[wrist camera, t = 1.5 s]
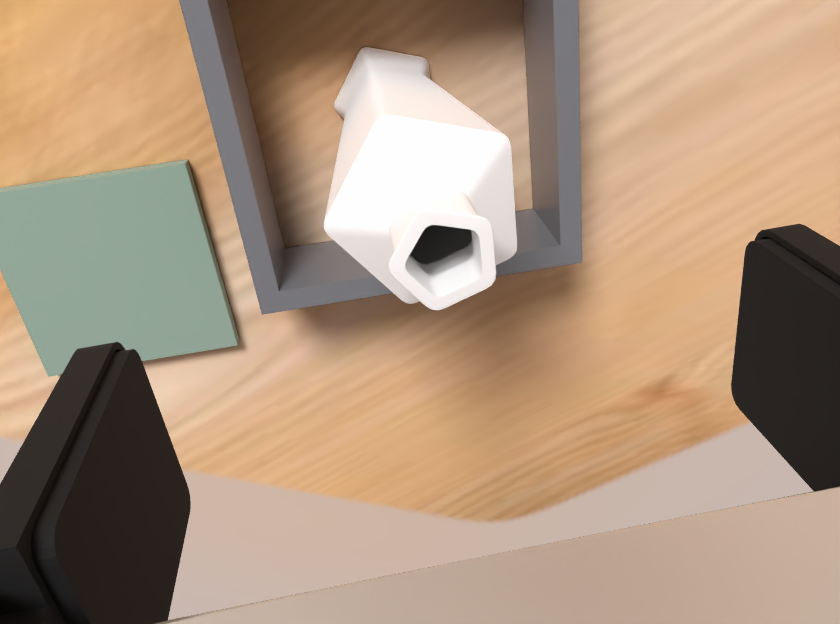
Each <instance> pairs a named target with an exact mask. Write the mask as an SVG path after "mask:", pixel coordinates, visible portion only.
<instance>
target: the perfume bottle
mask: <svg viewBox="0 0 840 624" xmlns="http://www.w3.org/2000/svg"><path fill="white" fill-rule="evenodd" d="M334 108H335V110H336V111H337V113H338V114H339V115H340V116H341V117H342V118H343V119H344V123H343V128H342V134H341V139H340V144H339V149H338V154H337V159H336V164H335V169H334V174H333V179H332V185H331V190H330V195H329V200H328V205H327V210H326V215H325V220H324V229H325V232H326V233H327V234H328V235H329V236H330V237H331V238H332V239H333V240H334V241H335V242H336V243H338V244H339V245H340V246H341V247H342V248H343V249H344V250H345V251H347V252H348V253H349V254H350V255H351V256H352V257H353V258H354V259H356V260H357V261H358V262H359V263H360V264H361V265H362V266H363V267H365V268H366V269H367V270H368V271H369V272H370V273H371V274H372V275H374V276H375V277H376V278H377V279H378V280H379V281H380V282H381V283H383V284H384V285H385V286H386V287H387V288H388V289H389V290H390V291H392V292H393V293H394V294H395V295H396V296H397V297H398V298H399V299H401V300H402V301H404V302H405V303H409V304H413V303H417V302H419V301H420V302H421V303H422V304H423V305H425V306H426V307H428V308H429V309H431V310H441V309H444V308H447V307H449V306H451V305H453V304H455V303H457V302H459V301H461V300H464V299H466V298H468V297H470V296H472V295H474V294H476V293H478V292H481V291H483V290H485V289H487V288H488V287H490V286H491V285H492V284H493V282H494V281H495V279H496V265H498V264H500V263H502V262H504V261H506V260H508V259H510V258H511V257H512V256H514V254H515V252H516V251H517V234H516V218H515V202H514V187H513V171H512V155H511V145H510V141H509V139H508V138H507V137H506V135H504V134H503V133H502V132H500V131H499V130H498V129H496V128H495V127H494V126H492V125H491V124H489V123H488V122H487V121H485V120H484V119H483V118H481V117H480V116H479V115H477V114H476V113H475V112H473V111H472V110H471V109H469V108H468V107H467V106H465V105H464V104H463V103H461V102H460V101H458V100H457V99H456V98H454V97H453V96H452V95H450V94H449V93H448V92H446V91H445V90H444V89H442V88H441V87H440V86H438V85H437V84H436V83H434V82H433V81H432V80H431V79H430V70H429V64H428V61H427V60H426V59H425V58H423V57H419V56H414V55H409V54H403V53H398V52H392V51H387V50H382V49H376V48H371V47H364V48H362V49H361V50H360V51H359V53H358V55H357V57H356V59H355V61H354V63H353V65H352V67H351V69H350V71H349V73H348V75H347V78H346V80H345V82H344V84H343V86H342V88H341V90H340V92H339V94H338V96H337V98H336V100H335V103H334Z"/></svg>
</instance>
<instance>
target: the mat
mask: <svg viewBox="0 0 840 624" xmlns="http://www.w3.org/2000/svg"><path fill="white" fill-rule="evenodd" d="M0 270H1V272H2V275H3V277H4V279H5V281H6V283H7V286H8V288H9V290H10V292H11V295H12V297H13V299H14V301H15V303H16V306H17V308H18V310H19V312H20V315H21V317H22V319H23V321H24V323H25V326H26V328H27V330H28V332H29V335H30V337H31V339H32V341H33V343H34V346H35V348H36V350H37V352H38V354H39V357H40V359H41V361H42V363H43V366H44V368H45V370H46V372H47V374H48V377H49V376H55V375H61V374H62V373H63V371H64V370H65V368H66V366H67V364H68V363H69V361H70V359H71V357H72V355H73V354H74V352H75V351H76V350H77V349H79V348H85V347H91V346H97V345H102V344H108V343H114V342H119V343H121V344H122V346H123V347H124V348H125V350H130V349H135V350H136V351H137V352H138V354H139V356H140V358H141V361H146V360H152V359H158V358H164V357H170V356H176V355H183V354H189V353H195V352H201V351H207V350H213V349H219V348H225V347H231V346H237V345H238V341H239V336H238V333H237V329H236V326H235V322H234V319H233V315H232V312H231V308H230V305H229V302H228V298H227V295H226V291H225V288H224V284H223V281H222V277H221V274H220V270H219V267H218V263H217V260H216V256H215V253H214V249H213V246H212V242H211V239H210V235H209V232H208V228H207V225H206V221H205V218H204V214H203V211H202V207H201V204H200V200H199V197H198V193H197V190H196V186H195V183H194V179H193V176H192V172H191V169H190V165H189V162H188V159H187V160H181V161H174V162H167V163H161V164H154V165H148V166H141V167H135V168H128V169H122V170H115V171H109V172H102V173H96V174H89V175H83V176H76V177H70V178H63V179H57V180H50V181H44V182H37V183H30V184H24V185H17V186H11V187H4V188H0Z"/></svg>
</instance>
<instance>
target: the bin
mask: <svg viewBox="0 0 840 624" xmlns="http://www.w3.org/2000/svg"><path fill="white" fill-rule="evenodd" d="M179 1H180V5H181V9H182V13H183V16H184V20H185V24H186V28H187V32H188V35H189V39H190V43H191V47H192V51H193V54H194V58H195V62H196V66H197V70H198V73H199V77H200V81H201V85H202V89H203V92H204V96H205V100H206V104H207V108H208V111H209V115H210V119H211V123H212V127H213V130H214V134H215V138H216V142H217V145H218V149H219V153H220V157H221V161H222V164H223V168H224V172H225V176H226V180H227V183H228V187H229V191H230V195H231V199H232V202H233V206H234V210H235V214H236V218H237V221H238V225H239V229H240V233H241V237H242V240H243V244H244V248H245V252H246V256H247V259H248V263H249V267H250V271H251V275H252V278H253V282H254V286H255V290H256V294H257V297H258V301H259V305H260V309H261V313H262V314H269V313H275V312H281V311H287V310H293V309H299V308H305V307H311V306H318V305H324V304H330V303H336V302H342V301H348V300H354V299H360V298H367V297H373V296H379V295H385V294H391V293H393V292H392V291H390V290H389V289H388V288H387V287H386V286H385V285H384V284H383V283H381V282H380V281H379V280H378V279H377V278H376V277H375V276H374V275H372V274H371V273H370V272H369V271H368V270H367V269H366V268H365V267H363V266H362V265H361V264H360V263H359V262H358V261H357V260H356V259H354V258H353V257H352V256H351V255H350V254H349V253H348V252H347V251H345V250H344V249H343V248H342V247H341V246H340V245H339V244H338V243H336V242H335V241H328V242H321V243H315V244H309V245H302V246H296V247H290V248H284V244H283V240H282V235H281V231H280V227H279V222H278V218H277V214H276V210H275V205H274V201H273V197H272V192H271V188H270V184H269V180H268V175H267V171H266V167H265V163H264V158H263V154H262V150H261V145H260V141H259V137H258V133H257V128H256V124H255V120H254V116H253V111H252V107H251V103H250V98H249V94H248V90H247V86H246V81H245V77H244V73H243V68H242V64H241V60H240V56H239V51H238V47H237V43H236V39H235V34H234V30H233V26H232V21H231V17H230V13H229V9H228V4H227V0H179ZM523 15H524V36H525V56H526V76H527V97H528V117H529V137H530V158H531V178H532V198H533V209H528V210H522V211H516V212H515V218H516V234H517V251H516V252H515V254H514V256H512V257H511V258H510V259H508V260H506V261H504V262H502V263H500V264H498V265H496V276H501V275H508V274H514V273H520V272H526V271H532V270H538V269H544V268H550V267H557V266H563V265H569V264H575V263H581V262H582V219H581V150H580V81H579V13H578V0H523Z"/></svg>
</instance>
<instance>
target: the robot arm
mask: <svg viewBox="0 0 840 624" xmlns="http://www.w3.org/2000/svg"><path fill="white" fill-rule="evenodd" d="M731 389H732V395H733V398H734V401H735V403H736V405H737V406H738V408H739V409H740V410H741V411H742V412H743V414H744V415H745V416H746V417H747V418H748V419H749V420H750V421H751V422H752V423H753V425H754V426H755V427H756V428H757V429H758V430H759V431H760V432H761V433H762V435H763V436H764V437H765V438H766V439H767V440H768V441H769V442H770V443H771V444H772V445H773V447H774V448H775V449H776V450H777V451H778V452H779V453H780V454H781V455H782V457H783V458H784V459H785V460H786V461H787V462H788V463H789V464H790V465H791V467H793V469H794V470H795V471H796V472H797V473H798V474H799V475H800V477H801V478H802V479H803V480H804V481H805V482H806V483H807V484H808V485H809V486H810V488H811V489H812V490H813V491H814V492H809V493H804V494H798V495H793V496H788V497H783V498H778V499H773V500H767V501H763V502H757V503H752V504H747V505H742V506H737V507H732V508H727V509H721V510H716V511H711V512H706V513H700V514H695V515H691V516H685V517H680V518H675V519H670V520H665V521H659V522H655V523H649V524H644V525H639V526H634V527H629V528H624V529H619V530H614V531H609V532H604V533H599V534H593V535H588V536H583V537H578V538H573V539H568V540H563V541H558V542H553V543H548V544H543V545H539V546H533V547H528V548H524V549H518V550H513V551H508V552H503V553H498V554H493V555H488V556H483V557H478V558H473V559H468V560H463V561H458V562H453V563H448V564H443V565H438V566H433V567H428V568H423V569H418V570H413V571H408V572H403V573H398V574H394V575H389V576H383V577H378V578H374V579H369V580H364V581H360V582H354V583H350V584H344V585H340V586H335V587H330V588H325V589H320V590H315V591H310V592H305V593H300V594H295V595H291V596H285V597H280V598H276V599H271V600H266V601H261V602H256V603H251V604H246V605H241V606H236V607H231V608H226V609H221V610H216V611H211V612H207V613H202V614H197V615H192V616H187V617H182V618H177V619H172V620H168V616H169V611H170V606H171V601H172V597H173V592H174V586H175V582H176V577H177V572H178V568H179V563H180V557H181V553H182V548H183V543H184V538H185V534H186V528H187V524H188V518H189V514H190V494H189V489H188V486H187V483H186V480H185V477H184V475H183V472H182V469H181V467H180V464H179V461H178V458H177V456H176V453H175V450H174V448H173V445H172V442H171V439H170V437H169V434H168V431H167V429H166V426H165V423H164V420H163V418H162V415H161V412H160V410H159V407H158V404H157V401H156V399H155V396H154V393H153V390H152V388H151V385H150V382H149V380H148V377H147V374H146V371H145V369H144V366H143V363H142V361H141V358H140V356H139V354H138V352H137V351H136V350H135V349H130V350H125V348H124V347H123V346H122V344H121V343H119V342H114V343H108V344H102V345H97V346H91V347H85V348H79V349H77V350H76V351H75V352H74V354H73V355H72V357H71V359H70V361H69V363H68V364H67V366H66V368H65V370H64V371H63V373H62V375H61V377H60V379H59V380H58V382H57V384H56V386H55V387H54V389H53V391H52V393H51V395H50V396H49V398H48V400H47V402H46V404H45V405H44V407H43V409H42V411H41V412H40V414H39V416H38V418H37V420H36V421H35V423H34V425H33V427H32V428H31V430H30V432H29V434H28V436H27V437H26V439H25V441H24V443H23V445H22V446H21V448H20V450H19V452H18V453H17V455H16V457H15V459H14V461H13V462H12V464H11V466H10V468H9V470H8V471H7V473H6V475H5V477H4V478H3V480H2V482H1V484H0V624H840V246H839V245H837V244H835V243H834V242H832V241H830V240H828V239H827V238H825V237H823V236H822V235H820V234H818V233H817V232H815V231H813V230H811V229H810V228H808V227H806V226H805V225H802V224H795V225H790V226H784V227H778V228H772V229H767V230H762V231H760V232H759V233H758V234H757V236H756V238H755V241H751V242H750V243H749V244H748V245H747V247H746V250H745V257H744V267H743V276H742V286H741V296H740V306H739V315H738V325H737V335H736V344H735V354H734V364H733V373H732V383H731Z"/></svg>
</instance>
